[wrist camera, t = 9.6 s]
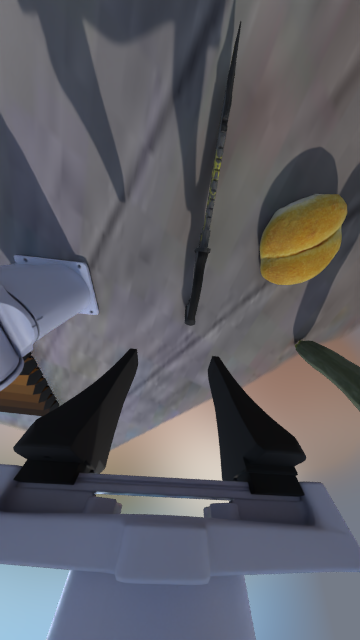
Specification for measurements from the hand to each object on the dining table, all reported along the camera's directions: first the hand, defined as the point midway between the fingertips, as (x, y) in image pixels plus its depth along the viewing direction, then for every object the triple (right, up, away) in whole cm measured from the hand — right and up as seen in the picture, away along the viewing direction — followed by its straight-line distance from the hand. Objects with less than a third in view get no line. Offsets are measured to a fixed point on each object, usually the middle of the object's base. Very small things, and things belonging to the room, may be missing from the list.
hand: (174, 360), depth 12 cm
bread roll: (+14, +13, +4) cm, 20 cm away
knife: (+3, +15, +3) cm, 16 cm away
